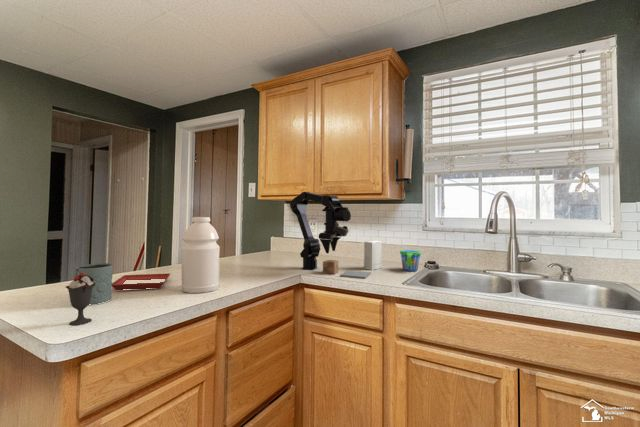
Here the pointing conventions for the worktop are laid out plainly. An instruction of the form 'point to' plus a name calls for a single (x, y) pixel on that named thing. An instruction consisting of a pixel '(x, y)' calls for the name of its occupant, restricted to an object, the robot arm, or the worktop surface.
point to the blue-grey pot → (99, 280)
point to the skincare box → (372, 255)
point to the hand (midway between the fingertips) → (330, 252)
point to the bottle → (200, 257)
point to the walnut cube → (330, 267)
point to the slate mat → (355, 274)
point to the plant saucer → (120, 286)
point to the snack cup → (410, 259)
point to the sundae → (80, 296)
